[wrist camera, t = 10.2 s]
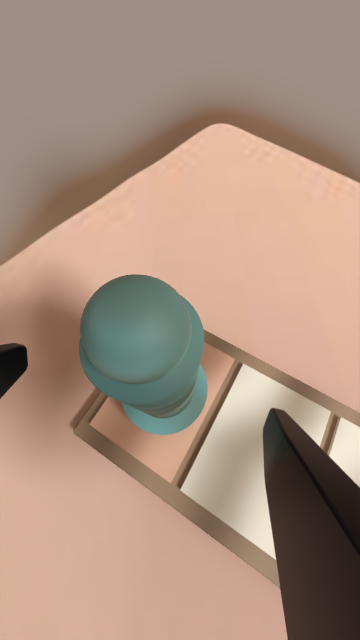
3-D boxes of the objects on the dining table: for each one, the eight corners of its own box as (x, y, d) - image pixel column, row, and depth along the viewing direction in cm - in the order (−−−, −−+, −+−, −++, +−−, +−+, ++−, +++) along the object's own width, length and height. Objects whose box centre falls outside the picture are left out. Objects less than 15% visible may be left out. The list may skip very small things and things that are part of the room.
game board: (448, 464, 16) (463, 466, 15) (420, 689, 12) (438, 709, 11) (162, 310, 21) (161, 305, 20) (76, 432, 17) (70, 432, 16)
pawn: (159, 454, 15) (85, 527, 4) (109, 386, 17) (-44, 294, 6) (222, 394, 17) (307, 312, 5) (170, 337, 19) (148, 184, 7)
